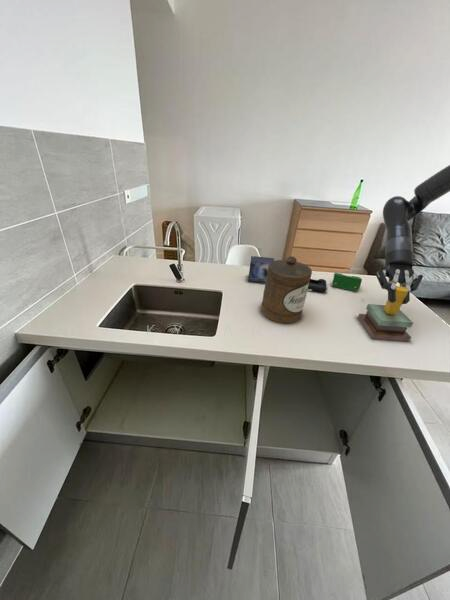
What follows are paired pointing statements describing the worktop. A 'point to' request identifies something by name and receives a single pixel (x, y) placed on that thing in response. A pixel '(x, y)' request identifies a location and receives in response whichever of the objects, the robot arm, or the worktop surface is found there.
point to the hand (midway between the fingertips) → (398, 302)
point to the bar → (395, 306)
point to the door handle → (317, 285)
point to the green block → (346, 282)
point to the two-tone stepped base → (385, 324)
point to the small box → (259, 269)
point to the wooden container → (285, 290)
